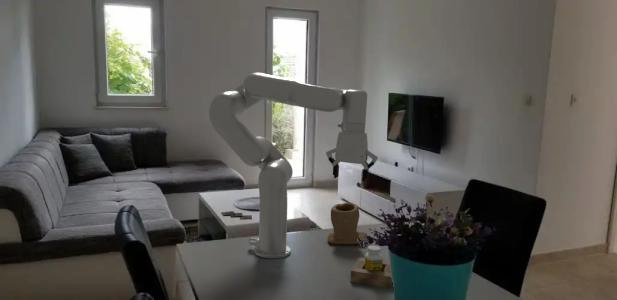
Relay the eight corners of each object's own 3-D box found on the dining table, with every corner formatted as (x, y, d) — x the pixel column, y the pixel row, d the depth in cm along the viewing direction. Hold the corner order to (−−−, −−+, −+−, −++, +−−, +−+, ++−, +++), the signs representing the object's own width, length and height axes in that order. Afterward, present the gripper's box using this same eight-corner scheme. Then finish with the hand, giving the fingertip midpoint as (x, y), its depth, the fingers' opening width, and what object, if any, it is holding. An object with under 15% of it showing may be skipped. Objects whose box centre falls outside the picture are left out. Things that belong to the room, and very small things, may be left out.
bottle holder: (350, 281, 151) (350, 270, 150) (358, 267, 162) (359, 257, 161) (390, 288, 147) (390, 276, 146) (395, 273, 158) (396, 262, 158)
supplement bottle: (373, 272, 158) (375, 243, 157) (385, 278, 154) (386, 248, 152) (360, 276, 155) (362, 246, 154) (371, 282, 151) (373, 251, 149)
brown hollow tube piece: (327, 248, 180) (329, 207, 177) (326, 237, 191) (328, 199, 189) (369, 249, 179) (372, 209, 177) (366, 238, 191) (368, 200, 189)
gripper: (324, 126, 162) (321, 178, 165) (377, 131, 156) (373, 184, 159) (331, 124, 169) (328, 174, 172) (381, 129, 163) (378, 180, 166)
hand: (350, 179), depth 165 cm, fingers open, 9 cm apart
